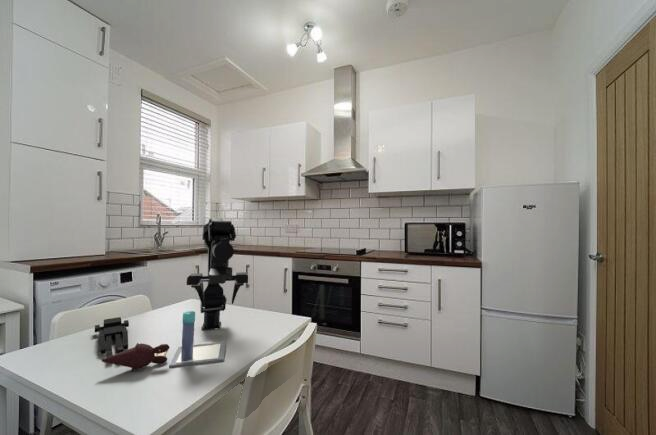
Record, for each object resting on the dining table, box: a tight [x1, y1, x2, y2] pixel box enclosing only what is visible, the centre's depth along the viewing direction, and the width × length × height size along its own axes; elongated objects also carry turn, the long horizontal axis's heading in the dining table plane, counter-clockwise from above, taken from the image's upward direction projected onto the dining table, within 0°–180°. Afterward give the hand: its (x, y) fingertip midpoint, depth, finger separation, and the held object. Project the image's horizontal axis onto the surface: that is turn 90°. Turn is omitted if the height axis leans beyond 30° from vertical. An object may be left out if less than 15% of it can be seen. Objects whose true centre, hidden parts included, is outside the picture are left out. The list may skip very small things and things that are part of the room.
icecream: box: [101, 342, 170, 373], centre depth 73 cm, size 7×7×15 cm
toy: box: [94, 316, 130, 358], centre depth 87 cm, size 10×5×30 cm
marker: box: [181, 310, 196, 361], centre depth 78 cm, size 3×3×13 cm
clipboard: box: [168, 341, 227, 368], centre depth 82 cm, size 12×14×1 cm
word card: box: [155, 351, 168, 356], centre depth 82 cm, size 6×4×1 cm, turn 18°
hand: (217, 304), depth 90 cm, fingers open, 9 cm apart
